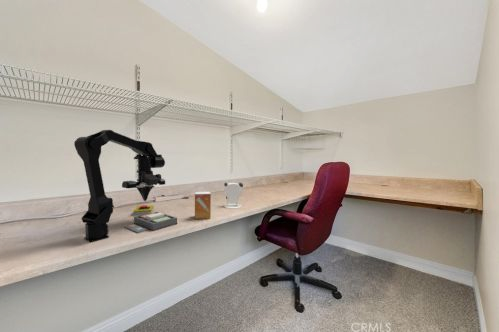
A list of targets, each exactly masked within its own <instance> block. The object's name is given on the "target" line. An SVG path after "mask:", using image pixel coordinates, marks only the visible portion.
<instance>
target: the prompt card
mask: <svg viewBox="0 0 499 332" xmlns="http://www.w3.org/2000/svg"><path fill="white" fill-rule="evenodd" d="M124 229H127V230H129V231H132V232H133V233H136V234H140V233H144V232H147V231H148V229H147V228H145V227H142V226H140V225H137V224H135V223H130V224H128V225H124Z"/></svg>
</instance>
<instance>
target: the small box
mask: <svg viewBox="0 0 499 332" xmlns="http://www.w3.org/2000/svg"><path fill="white" fill-rule="evenodd" d="M211 199H212V193H211V191H195V192H194V219H195V220H199V219H202V220H203V219H204V220H205V219H211V218H212V217H211V213H212V212H211V211H212V210H211Z"/></svg>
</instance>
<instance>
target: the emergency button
mask: <svg viewBox="0 0 499 332" xmlns="http://www.w3.org/2000/svg"><path fill="white" fill-rule="evenodd" d="M154 212H155V205H153V204H152V205H138V206H136V207H135V209H133V215H132V217H133V218H134V217H136V216H141V215H145V214H150V213H154Z"/></svg>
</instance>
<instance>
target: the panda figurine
mask: <svg viewBox="0 0 499 332" xmlns="http://www.w3.org/2000/svg"><path fill="white" fill-rule="evenodd" d="M243 187H244V184H243V183H242V182H239V183H235V182H229V183H227V182H224V191H223V192H224V194H225V197H226V198H225V199H226V204H224V205H223V208H225V209H240V208H242V206H243V205H241V204H239V198H240V197H241V196H242V195H243Z"/></svg>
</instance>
